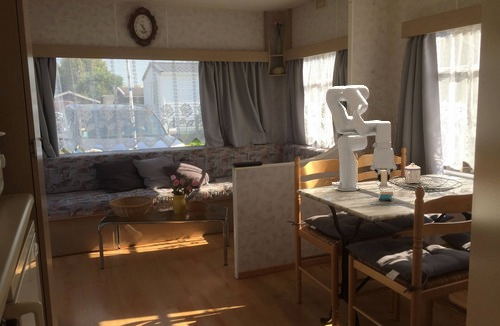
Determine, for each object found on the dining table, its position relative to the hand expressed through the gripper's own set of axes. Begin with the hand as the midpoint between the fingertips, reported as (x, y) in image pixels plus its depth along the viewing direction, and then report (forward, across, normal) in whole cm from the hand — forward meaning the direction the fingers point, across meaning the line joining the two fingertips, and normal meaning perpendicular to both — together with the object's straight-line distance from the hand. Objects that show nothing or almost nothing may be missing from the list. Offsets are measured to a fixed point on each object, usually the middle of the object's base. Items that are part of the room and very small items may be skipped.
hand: (383, 181), depth 220 cm
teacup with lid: (+10, +22, +41) cm, 47 cm away
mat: (+9, 0, -7) cm, 12 cm away
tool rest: (+9, +10, +8) cm, 16 cm away
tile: (+8, 0, -4) cm, 9 cm away
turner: (+2, 0, 0) cm, 2 cm away
